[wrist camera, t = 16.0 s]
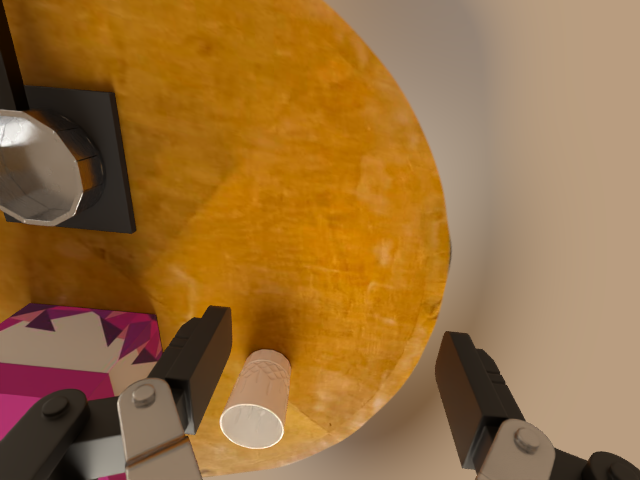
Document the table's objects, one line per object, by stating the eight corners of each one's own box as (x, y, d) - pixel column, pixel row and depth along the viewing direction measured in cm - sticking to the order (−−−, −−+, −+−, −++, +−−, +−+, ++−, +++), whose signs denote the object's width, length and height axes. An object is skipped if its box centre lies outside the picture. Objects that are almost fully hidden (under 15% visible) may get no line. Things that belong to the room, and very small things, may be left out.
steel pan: (114, 217, 42) (91, 230, 38) (18, 208, 42) (-14, 220, 39) (74, -1, 33) (39, -11, 29) (-47, -10, 33) (-97, -21, 30)
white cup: (304, 359, 50) (294, 420, 41) (281, 393, 53) (268, 457, 44) (254, 337, 49) (233, 394, 40) (234, 373, 52) (210, 434, 43)
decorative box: (27, 300, 49) (-94, 383, 36) (158, 312, 49) (84, 402, 35) (61, 397, 57) (-28, 495, 44) (174, 408, 57) (119, 512, 43)
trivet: (-30, 80, 38) (-40, 80, 37) (114, 92, 37) (108, 92, 36) (13, 218, 44) (6, 221, 43) (136, 230, 44) (131, 233, 43)
